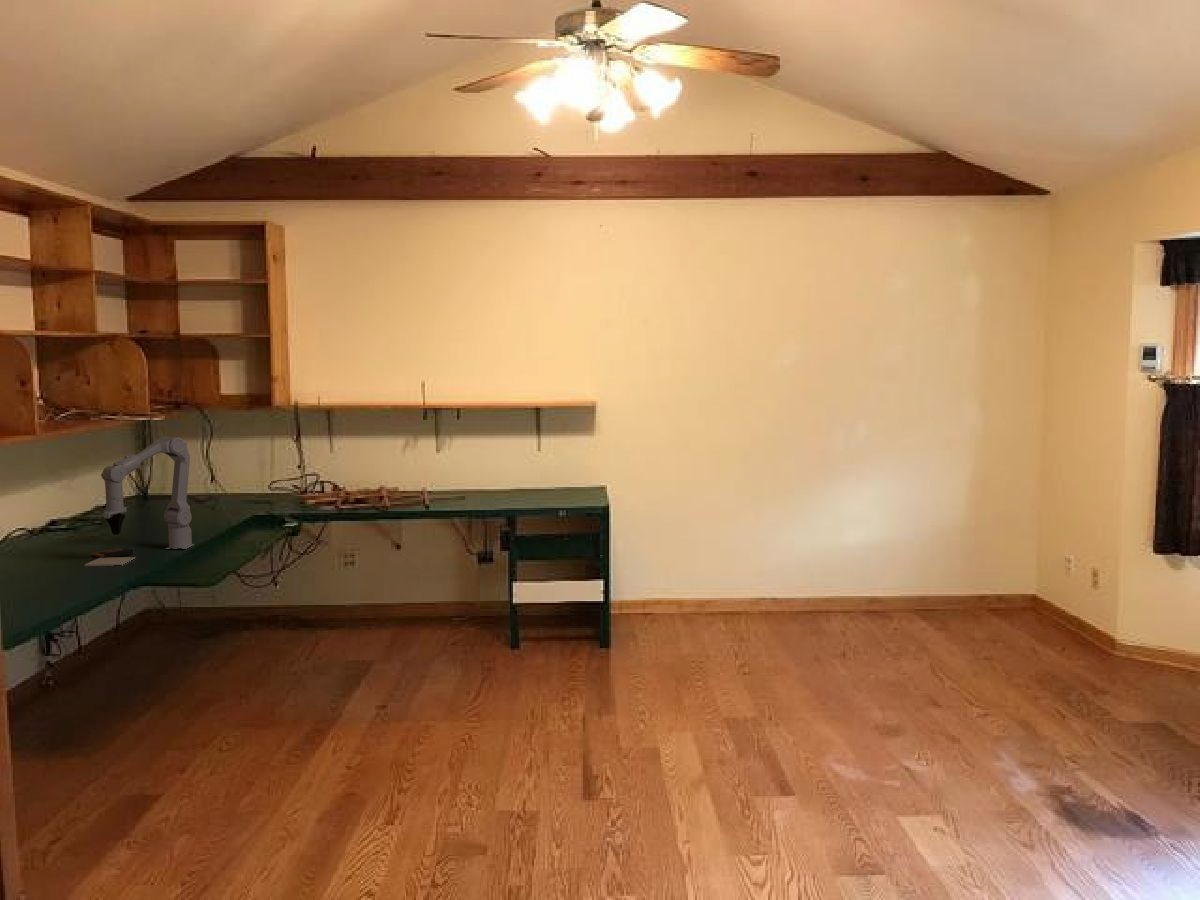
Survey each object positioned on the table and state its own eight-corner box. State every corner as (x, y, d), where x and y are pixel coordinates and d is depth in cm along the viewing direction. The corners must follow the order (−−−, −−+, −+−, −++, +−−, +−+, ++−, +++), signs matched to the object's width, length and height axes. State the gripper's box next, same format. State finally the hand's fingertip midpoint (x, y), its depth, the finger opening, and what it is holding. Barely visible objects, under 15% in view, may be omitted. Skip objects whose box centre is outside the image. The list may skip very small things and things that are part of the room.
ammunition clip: (104, 553, 355) (89, 551, 363) (104, 558, 355) (89, 556, 363) (133, 549, 364) (117, 547, 371) (133, 553, 364) (118, 552, 371)
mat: (100, 559, 356) (100, 557, 356) (135, 558, 357) (135, 557, 357) (84, 566, 344) (84, 564, 344) (121, 565, 345) (121, 564, 345)
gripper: (112, 495, 361) (114, 530, 362) (94, 501, 346) (96, 538, 348) (131, 495, 361) (133, 530, 362) (114, 501, 347) (115, 537, 348)
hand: (116, 534), depth 355 cm, fingers closed
